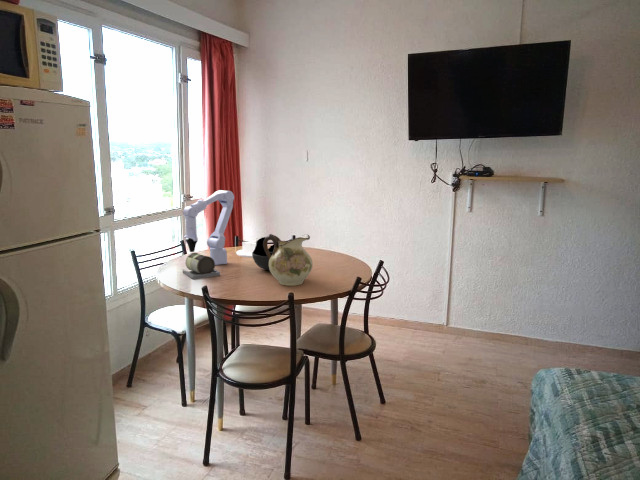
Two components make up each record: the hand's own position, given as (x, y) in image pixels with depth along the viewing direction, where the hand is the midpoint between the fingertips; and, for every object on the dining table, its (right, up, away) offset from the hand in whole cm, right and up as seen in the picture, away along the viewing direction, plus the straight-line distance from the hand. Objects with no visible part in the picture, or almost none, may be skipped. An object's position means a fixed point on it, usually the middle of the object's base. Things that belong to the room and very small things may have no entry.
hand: (192, 251), depth 258 cm
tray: (+7, -12, -9) cm, 16 cm away
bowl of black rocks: (+44, -11, +1) cm, 45 cm away
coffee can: (+2, -5, -3) cm, 7 cm away
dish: (+30, -3, +44) cm, 53 cm away
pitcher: (+57, -15, -23) cm, 63 cm away
